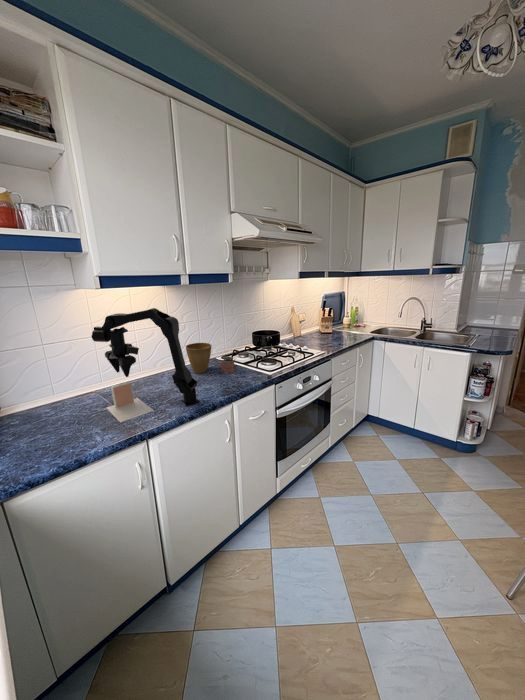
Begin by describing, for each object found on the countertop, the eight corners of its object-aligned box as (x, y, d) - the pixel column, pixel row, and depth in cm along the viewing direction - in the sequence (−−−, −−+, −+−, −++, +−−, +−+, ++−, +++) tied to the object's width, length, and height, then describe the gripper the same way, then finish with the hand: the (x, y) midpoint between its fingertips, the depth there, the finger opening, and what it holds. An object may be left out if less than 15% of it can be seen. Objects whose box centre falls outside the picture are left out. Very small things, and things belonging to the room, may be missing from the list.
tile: (134, 402, 133) (131, 382, 131) (116, 408, 128) (112, 387, 125) (132, 400, 135) (129, 381, 132) (114, 406, 130) (110, 386, 127)
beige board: (154, 411, 126) (153, 410, 126) (120, 423, 117) (120, 422, 117) (137, 398, 138) (137, 397, 138) (106, 408, 129) (105, 407, 129)
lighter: (235, 371, 172) (234, 355, 169) (234, 373, 169) (233, 357, 166) (222, 371, 173) (221, 355, 170) (220, 373, 170) (219, 357, 167)
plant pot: (197, 377, 164) (195, 350, 159) (183, 371, 174) (180, 346, 169) (218, 370, 174) (216, 345, 170) (203, 365, 184) (201, 341, 180)
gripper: (145, 342, 130) (149, 374, 135) (125, 335, 142) (130, 365, 146) (120, 347, 122) (125, 381, 127) (102, 340, 134) (107, 371, 138)
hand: (122, 374), depth 135 cm, fingers open, 9 cm apart
